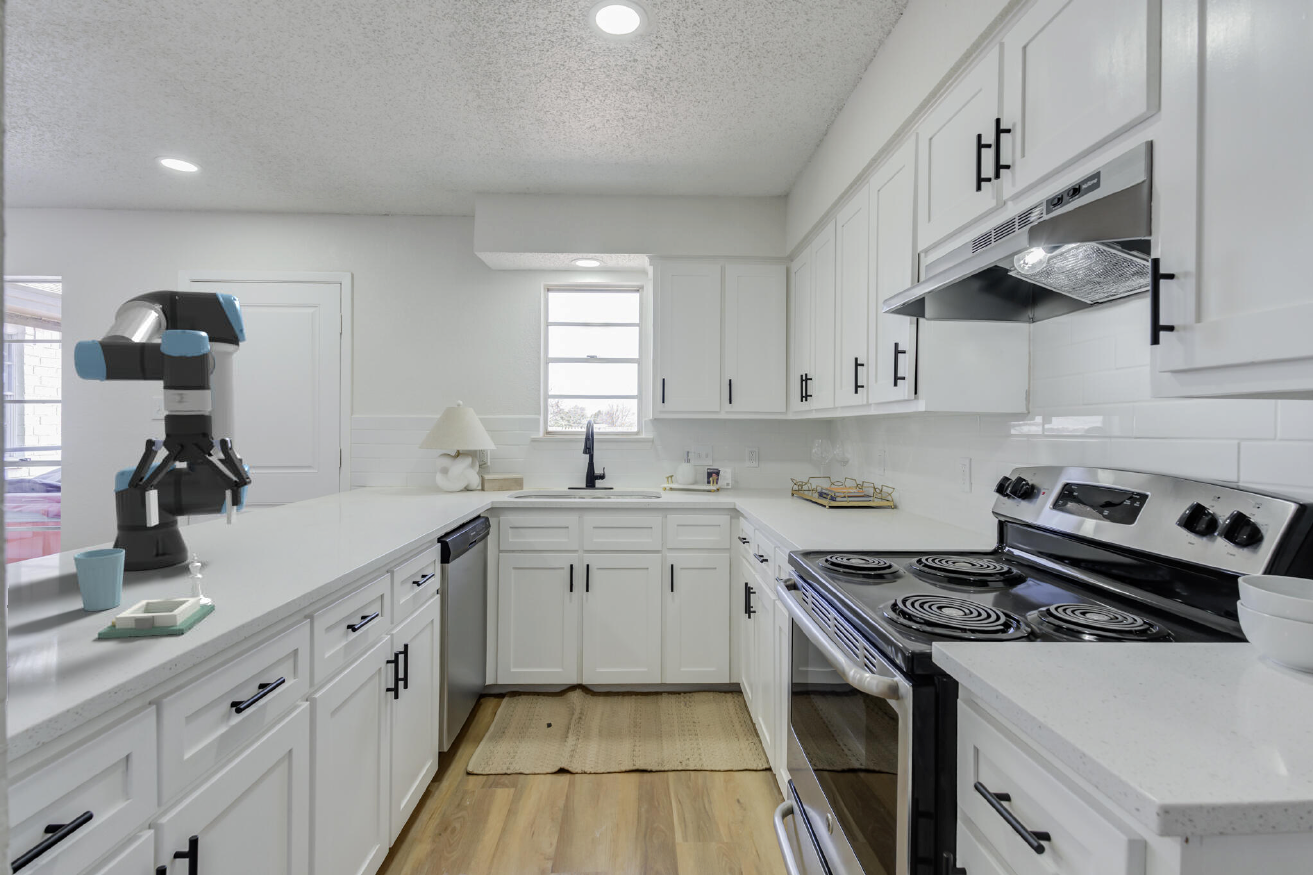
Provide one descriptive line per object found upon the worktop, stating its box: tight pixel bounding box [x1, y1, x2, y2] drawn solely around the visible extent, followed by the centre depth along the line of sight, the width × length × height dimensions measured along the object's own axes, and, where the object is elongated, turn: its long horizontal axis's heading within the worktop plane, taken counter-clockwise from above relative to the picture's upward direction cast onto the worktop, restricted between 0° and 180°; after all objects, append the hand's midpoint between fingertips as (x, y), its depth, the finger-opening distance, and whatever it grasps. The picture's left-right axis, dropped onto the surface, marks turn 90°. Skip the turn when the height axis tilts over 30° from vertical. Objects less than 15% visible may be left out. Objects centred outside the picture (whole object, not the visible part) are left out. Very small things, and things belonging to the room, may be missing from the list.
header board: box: [97, 597, 216, 639], centre depth 127 cm, size 13×13×3 cm
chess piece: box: [188, 553, 212, 605], centre depth 137 cm, size 5×5×10 cm
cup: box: [73, 548, 125, 612], centre depth 136 cm, size 8×8×10 cm
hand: (192, 524), depth 136 cm, fingers open, 13 cm apart
